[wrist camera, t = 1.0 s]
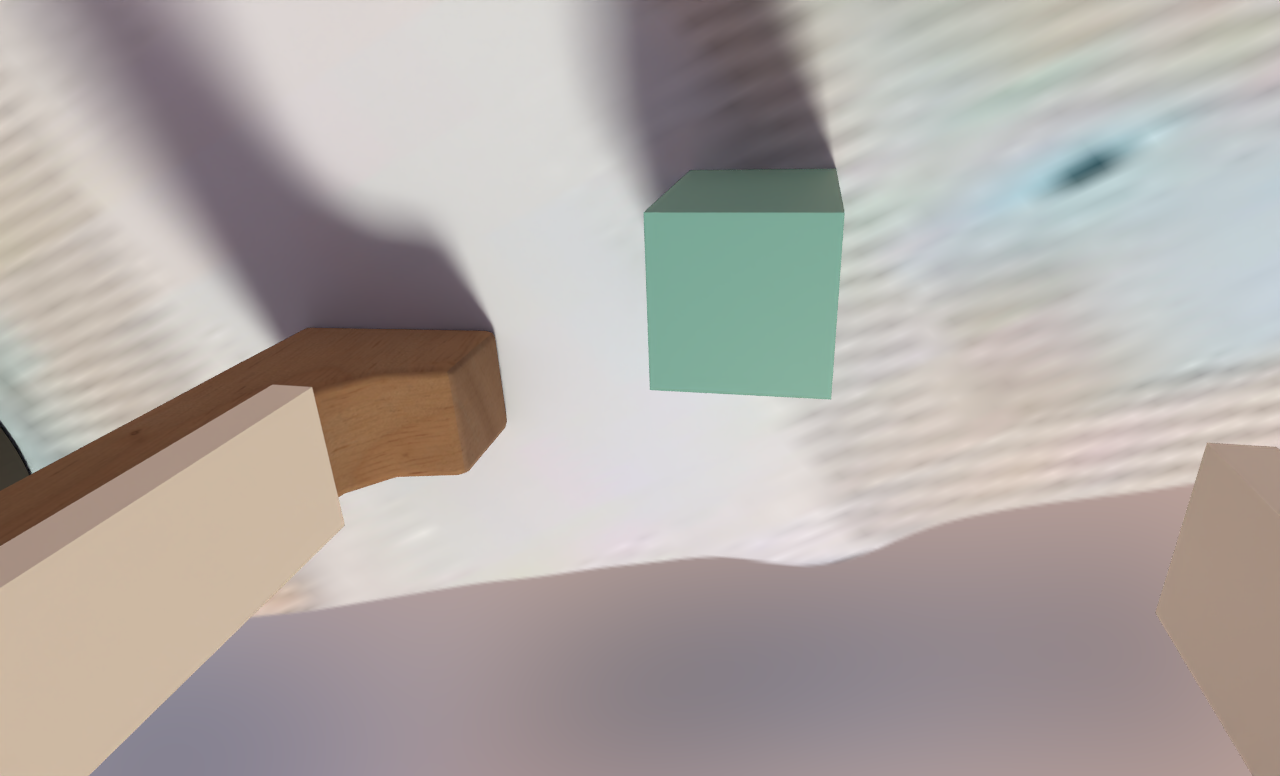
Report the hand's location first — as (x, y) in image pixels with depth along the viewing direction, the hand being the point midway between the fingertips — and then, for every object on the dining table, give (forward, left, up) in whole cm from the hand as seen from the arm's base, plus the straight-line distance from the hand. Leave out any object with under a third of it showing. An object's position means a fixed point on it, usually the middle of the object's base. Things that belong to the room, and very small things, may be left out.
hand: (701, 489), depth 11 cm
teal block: (0, 0, -17) cm, 17 cm away
